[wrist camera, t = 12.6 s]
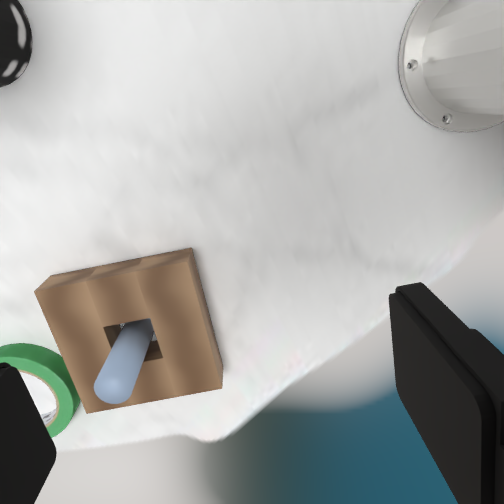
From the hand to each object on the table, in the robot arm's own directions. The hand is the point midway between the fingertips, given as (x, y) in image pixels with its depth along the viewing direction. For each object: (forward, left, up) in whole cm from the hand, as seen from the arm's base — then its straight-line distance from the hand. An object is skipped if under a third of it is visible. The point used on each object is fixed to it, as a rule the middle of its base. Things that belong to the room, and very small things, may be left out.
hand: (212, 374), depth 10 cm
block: (+12, +13, -28) cm, 33 cm away
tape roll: (+26, +18, -29) cm, 43 cm away
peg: (+12, +13, -28) cm, 33 cm away
